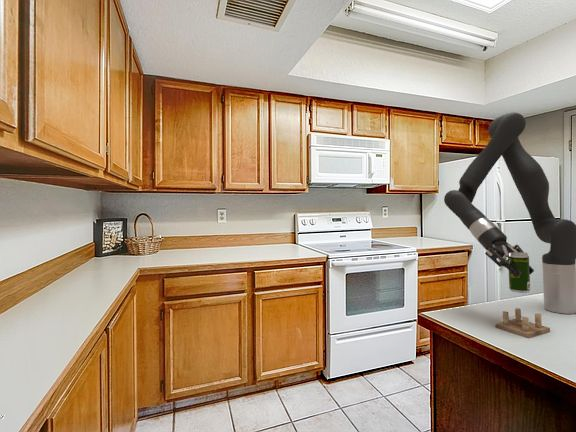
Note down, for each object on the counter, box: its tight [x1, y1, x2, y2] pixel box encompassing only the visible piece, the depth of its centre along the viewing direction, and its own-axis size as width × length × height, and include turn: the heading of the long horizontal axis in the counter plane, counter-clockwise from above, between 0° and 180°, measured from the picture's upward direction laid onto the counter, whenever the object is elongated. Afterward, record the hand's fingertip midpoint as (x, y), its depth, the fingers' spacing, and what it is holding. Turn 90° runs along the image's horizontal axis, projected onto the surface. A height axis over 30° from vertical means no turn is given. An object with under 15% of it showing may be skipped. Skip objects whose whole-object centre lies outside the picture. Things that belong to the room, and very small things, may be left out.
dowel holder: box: [495, 307, 551, 339], centre depth 100 cm, size 10×10×5 cm
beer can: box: [508, 251, 531, 294], centre depth 100 cm, size 5×5×12 cm
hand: (525, 273), depth 98 cm, fingers closed on beer can, 5 cm apart
